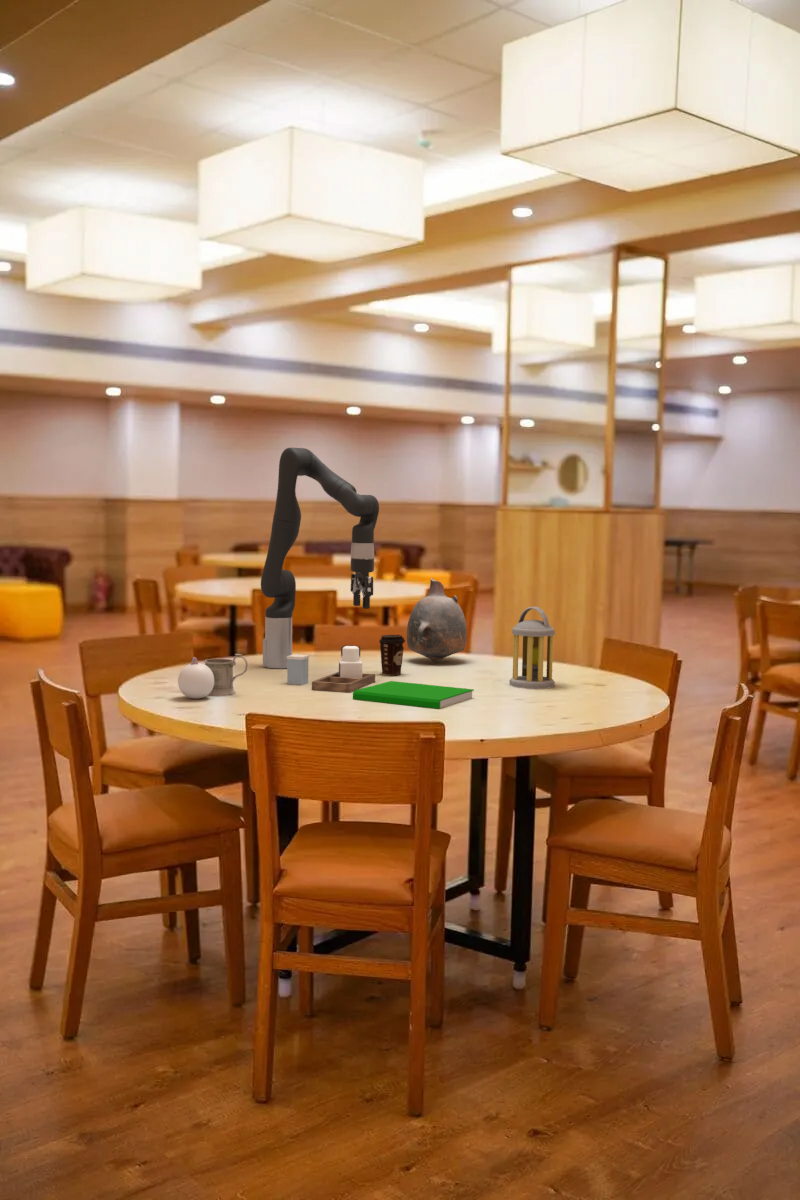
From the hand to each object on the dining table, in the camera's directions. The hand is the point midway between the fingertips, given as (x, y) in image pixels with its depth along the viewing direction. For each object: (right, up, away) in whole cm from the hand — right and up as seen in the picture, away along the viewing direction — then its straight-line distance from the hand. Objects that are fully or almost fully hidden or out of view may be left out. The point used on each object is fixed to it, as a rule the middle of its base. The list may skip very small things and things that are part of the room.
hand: (361, 607), depth 385 cm
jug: (+25, -20, +43) cm, 54 cm away
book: (+16, -27, -35) cm, 47 cm away
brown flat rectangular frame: (-5, -24, -14) cm, 28 cm away
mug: (-39, -26, -31) cm, 56 cm away
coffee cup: (+10, -23, +11) cm, 27 cm away
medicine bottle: (-3, -24, -9) cm, 26 cm away
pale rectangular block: (-20, -24, -11) cm, 33 cm away
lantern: (+54, -25, -7) cm, 60 cm away
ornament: (-46, -26, -41) cm, 67 cm away
